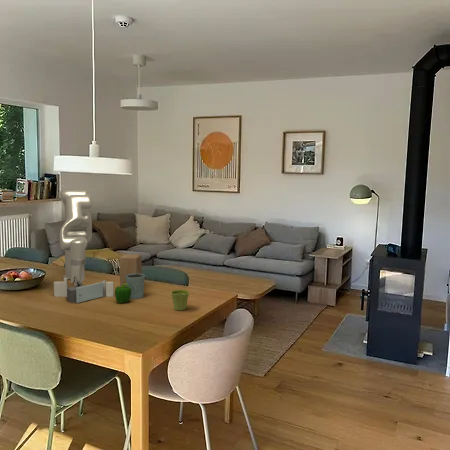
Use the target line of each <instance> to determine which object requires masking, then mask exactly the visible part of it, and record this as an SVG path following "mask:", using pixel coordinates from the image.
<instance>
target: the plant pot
mask: <svg viewBox="0 0 450 450" xmlns="http://www.w3.org/2000/svg"><path fill="white" fill-rule="evenodd" d="M170 294H171V297H172V298H171V299H172V304H173V309H174V311H176V310H177V311H180V312H181V311H185V310H186V309H187V307H188V306H187V305H188V299H189V298H188V297H189V295H190V291H189V290H187V289H176V290H172V291H170Z"/></svg>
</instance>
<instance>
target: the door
mask: <svg viewBox="0 0 450 450" xmlns="http://www.w3.org/2000/svg"><path fill="white" fill-rule="evenodd" d="M102 297H103V281H101V282H96V283H93V284H87V285H86V286H82V287H78V288H76V302H75V303H77V304H79V303H82V302H86V301H90V300H95V299H98V298H102Z"/></svg>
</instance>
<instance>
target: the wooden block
mask: <svg viewBox="0 0 450 450" xmlns="http://www.w3.org/2000/svg"><path fill="white" fill-rule="evenodd" d="M142 257H143V256H142V254H140V253H139V254H136V253H134V254H132V253H125V254H123V255H121V256H120V257H119V287H121V286H122V285H123V284H127V282H126V275H128V274H143V270H142V268H143V267H142V265H143V262H142V261H143V260H142ZM125 287H127V286H126V285H125Z"/></svg>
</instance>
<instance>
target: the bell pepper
mask: <svg viewBox="0 0 450 450" xmlns="http://www.w3.org/2000/svg"><path fill="white" fill-rule="evenodd" d="M125 285H126V286H127V284H123V285H122V286H121V287H120V286H116V287H115V288H114V297H115V299H116V303H118V304H124V303H128V302H130V300H131V299H130V296H131V288H130V287H125Z"/></svg>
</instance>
